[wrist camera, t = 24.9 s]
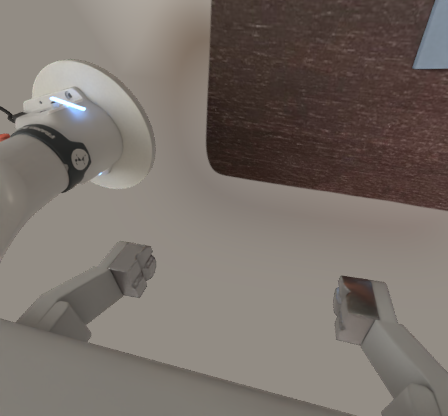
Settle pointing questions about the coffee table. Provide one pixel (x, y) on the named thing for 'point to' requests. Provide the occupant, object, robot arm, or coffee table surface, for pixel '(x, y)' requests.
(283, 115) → the coffee table surface
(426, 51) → the blue mat
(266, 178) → the coffee table surface
